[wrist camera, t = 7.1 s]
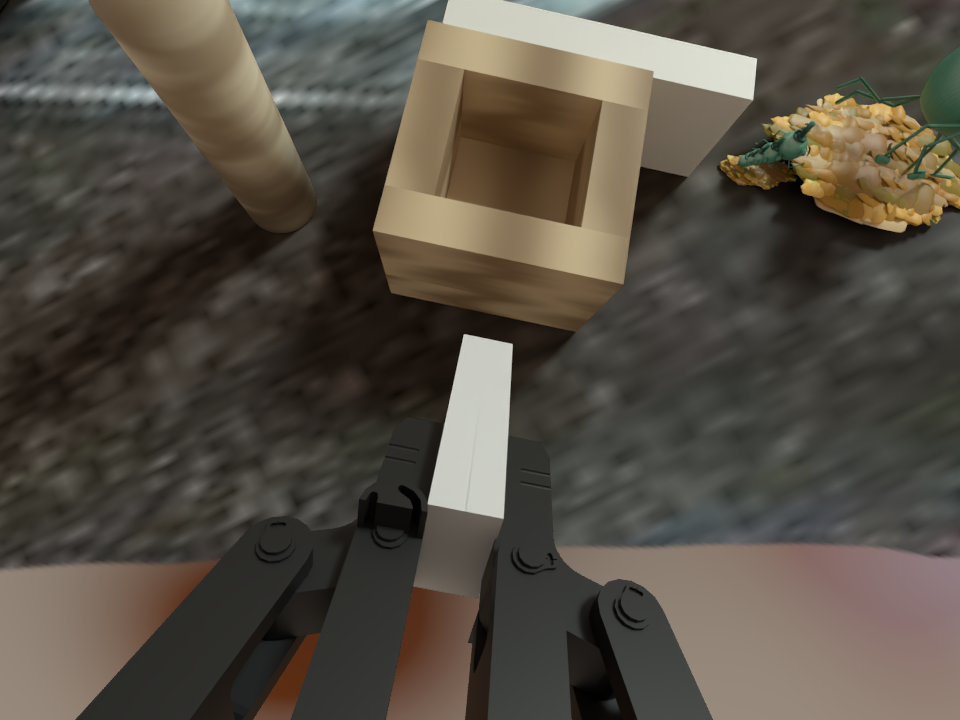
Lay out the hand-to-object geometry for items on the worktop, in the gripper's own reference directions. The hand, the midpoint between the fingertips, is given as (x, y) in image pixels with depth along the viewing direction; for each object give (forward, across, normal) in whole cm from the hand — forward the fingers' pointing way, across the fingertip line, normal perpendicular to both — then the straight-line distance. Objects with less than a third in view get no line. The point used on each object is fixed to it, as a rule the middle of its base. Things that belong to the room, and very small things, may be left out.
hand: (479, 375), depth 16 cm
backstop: (+23, +3, +4) cm, 23 cm away
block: (+17, 0, -1) cm, 17 cm away
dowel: (+16, -13, -2) cm, 21 cm away
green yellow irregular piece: (+24, +22, +6) cm, 33 cm away
